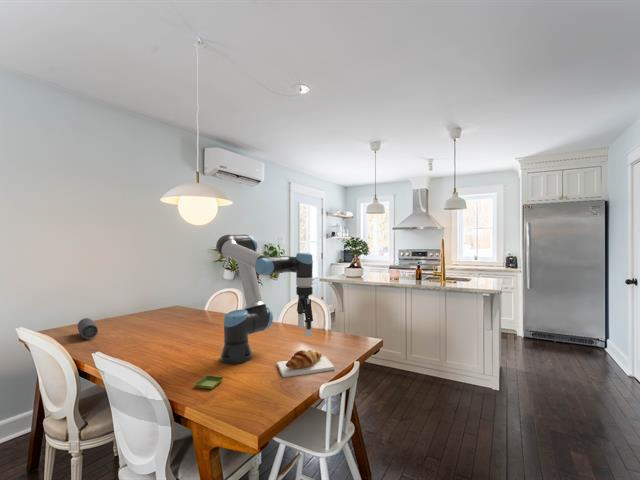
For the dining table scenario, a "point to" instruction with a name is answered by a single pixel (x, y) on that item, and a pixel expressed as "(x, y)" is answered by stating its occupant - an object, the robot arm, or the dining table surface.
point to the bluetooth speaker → (87, 328)
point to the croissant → (303, 359)
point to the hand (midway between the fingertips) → (304, 331)
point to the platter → (306, 368)
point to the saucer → (208, 382)
